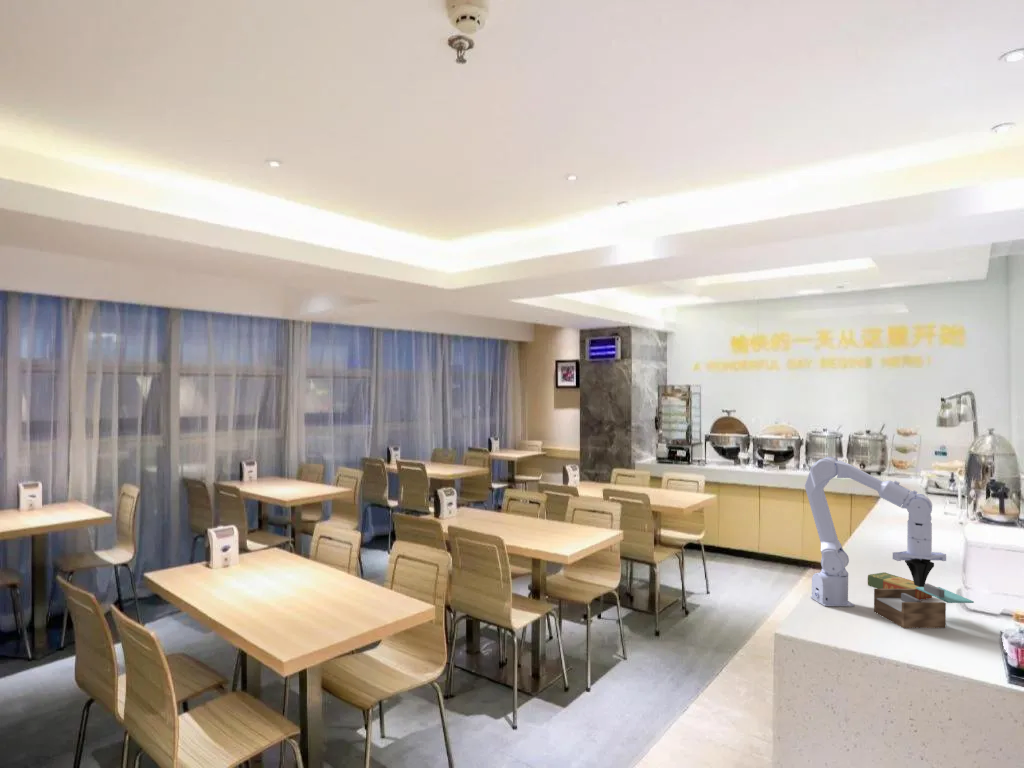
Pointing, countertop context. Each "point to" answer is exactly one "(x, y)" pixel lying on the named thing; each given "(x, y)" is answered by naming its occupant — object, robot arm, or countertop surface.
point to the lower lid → (898, 601)
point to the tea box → (910, 610)
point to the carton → (894, 584)
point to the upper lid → (943, 594)
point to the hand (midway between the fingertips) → (919, 585)
